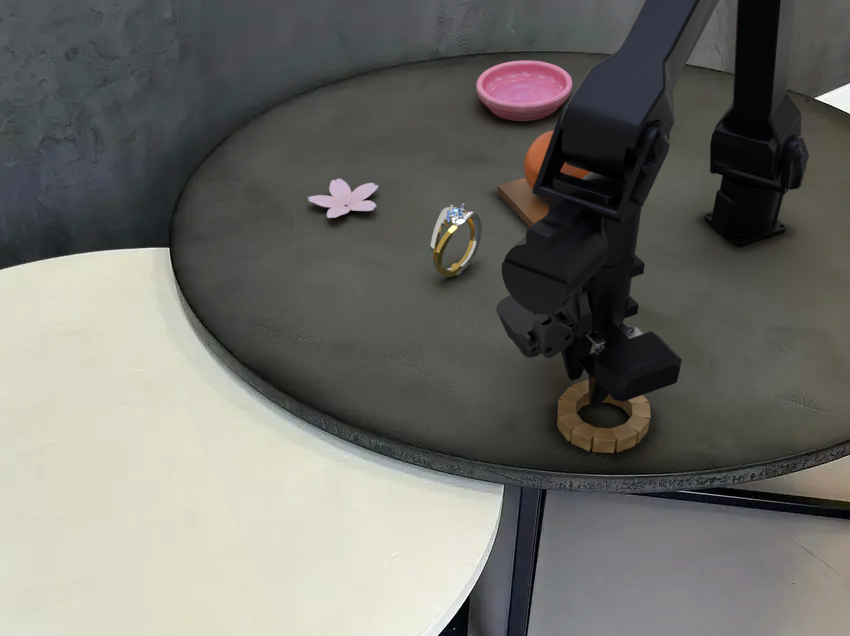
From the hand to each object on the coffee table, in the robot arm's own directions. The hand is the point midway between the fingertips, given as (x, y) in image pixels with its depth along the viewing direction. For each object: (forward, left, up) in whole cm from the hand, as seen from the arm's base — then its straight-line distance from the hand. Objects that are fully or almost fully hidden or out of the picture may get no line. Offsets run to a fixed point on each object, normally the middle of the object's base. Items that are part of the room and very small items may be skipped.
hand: (584, 391), depth 92 cm
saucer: (-22, -54, -1) cm, 58 cm away
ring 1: (+2, -24, -1) cm, 24 cm away
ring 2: (0, +3, -1) cm, 3 cm away
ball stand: (-14, -31, -1) cm, 34 cm away
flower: (+8, -42, -1) cm, 42 cm away
